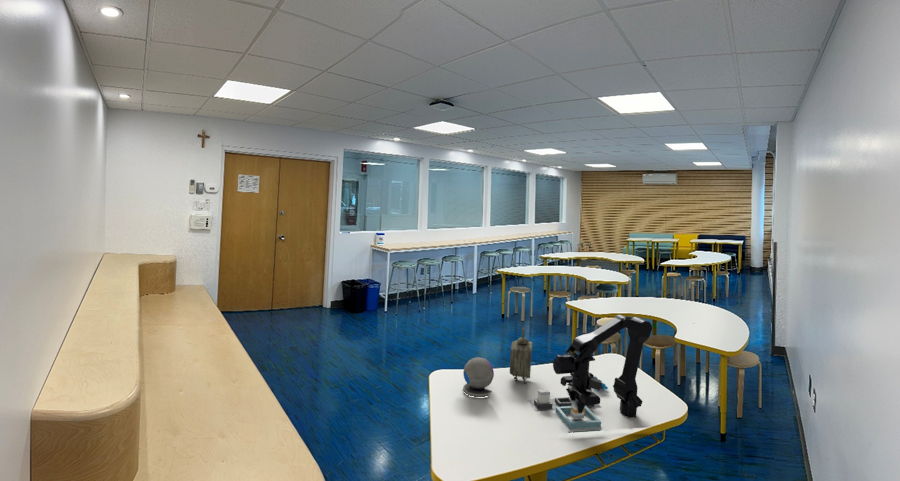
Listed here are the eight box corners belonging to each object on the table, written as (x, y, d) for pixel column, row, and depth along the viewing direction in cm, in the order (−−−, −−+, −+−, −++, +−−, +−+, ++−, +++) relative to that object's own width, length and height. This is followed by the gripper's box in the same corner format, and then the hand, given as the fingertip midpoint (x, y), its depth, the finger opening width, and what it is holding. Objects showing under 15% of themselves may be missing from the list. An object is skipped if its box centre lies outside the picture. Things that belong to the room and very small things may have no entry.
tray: (600, 430, 162) (601, 421, 162) (568, 432, 160) (569, 423, 160) (584, 413, 174) (585, 405, 174) (555, 415, 172) (555, 406, 172)
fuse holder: (601, 410, 177) (602, 403, 176) (535, 414, 172) (535, 407, 172) (590, 400, 186) (591, 393, 185) (527, 403, 181) (527, 396, 181)
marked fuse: (584, 418, 166) (585, 403, 165) (574, 419, 165) (575, 404, 164) (580, 414, 169) (581, 399, 168) (570, 415, 168) (571, 400, 167)
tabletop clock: (529, 388, 195) (532, 333, 192) (508, 386, 196) (511, 331, 194) (530, 375, 209) (533, 324, 206) (511, 373, 211) (513, 322, 208)
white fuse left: (549, 406, 176) (550, 391, 175) (539, 406, 175) (540, 392, 175) (546, 402, 179) (547, 388, 178) (537, 403, 178) (537, 389, 177)
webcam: (497, 396, 186) (499, 362, 185) (470, 400, 182) (471, 365, 180) (484, 383, 198) (485, 351, 197) (458, 387, 194) (459, 354, 192)
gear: (613, 390, 192) (599, 376, 190) (605, 401, 190) (591, 386, 188) (596, 383, 202) (583, 369, 200) (589, 393, 201) (575, 379, 199)
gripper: (614, 380, 158) (611, 421, 160) (586, 360, 176) (583, 397, 178) (587, 383, 155) (584, 425, 157) (560, 362, 173) (558, 400, 175)
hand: (578, 411), depth 167 cm, fingers closed on marked fuse, 3 cm apart
